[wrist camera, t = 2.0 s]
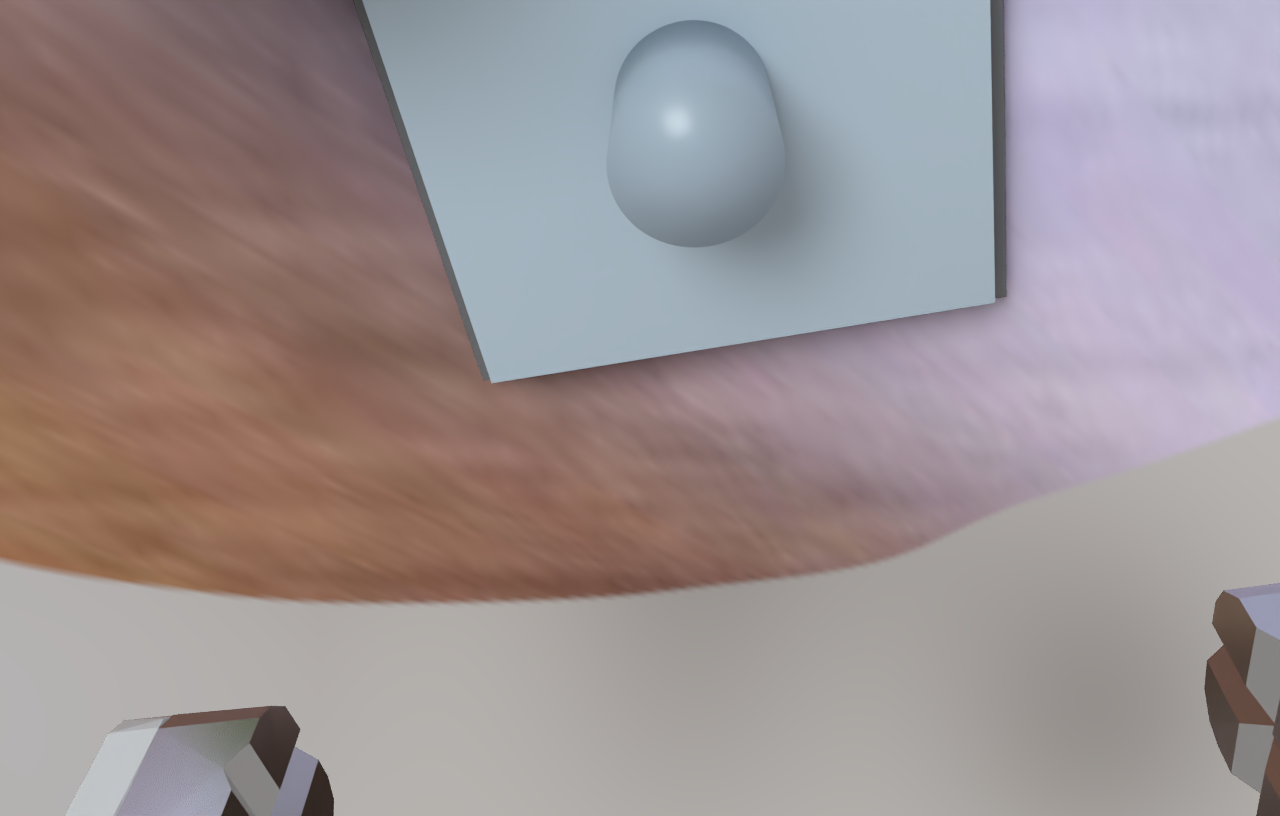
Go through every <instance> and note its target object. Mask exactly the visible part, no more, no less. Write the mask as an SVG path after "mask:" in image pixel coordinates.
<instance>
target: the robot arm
mask: <svg viewBox="0 0 1280 816" xmlns="http://www.w3.org/2000/svg"><path fill="white" fill-rule="evenodd" d="M1212 624H1213V626H1214V628H1215V629H1216V631H1217V633H1218V635H1219V637H1220V639H1221V641H1222V643H1223V644H1224V645H1223V646H1222V647H1221V648H1220V649H1219V650H1218V651H1217V652H1216V653H1215V654H1214V655H1213V656H1211V657H1210V658H1209V659H1208V660H1207V667H1206V678H1205V695H1206V701H1207V707H1208V714H1209V720H1210V723H1211V726H1212V729H1213V732H1214V735H1215V738H1216V741H1217V744H1218V747H1219V748H1220V751H1221V753H1222V755H1223V757H1224V759H1225V761H1226V763H1227V765H1228V767H1229V770H1230V771H1231V773H1232V774H1233V775H1235V776H1236V777H1238V778H1239V779H1240V780H1242V781H1243V782H1245V783H1246V784H1248V785H1249V786H1251V787H1252V788H1254V789H1255V790H1256V791H1258V792H1259V793H1261V794H1260V799H1259V805H1258V810H1257V815H1256V816H1280V583H1277V584H1269V585H1262V586H1254V587H1246V588H1239V589H1232V590H1224V591H1223V592H1222V593H1221V595H1220V596H1219V598H1218V599H1217V601H1216V603H1215V609H1214V615H1213V622H1212ZM299 732H300V728H299V726H298V725H297V723H296V722H295V720H294V719H293V717H292V716H291V714H290V713H289V711H288V710H287V708H286V707H285V706H265V707H254V708H243V709H233V710H221V711H211V712H200V713H189V714H178V715H173V716H163V717H154V718H143V719H134V720H124V721H123V722H122V723H121V724H119V725H118V726H117V727H116V728H114V729H113V730H112V731H111V732H109V733H108V735H107V736H106V738H105V740H104V742H103V744H102V746H101V748H100V750H99V752H98V753H97V755H96V757H95V759H94V761H93V763H92V765H91V767H90V769H89V771H88V772H87V774H86V776H85V778H84V780H83V782H82V784H81V786H80V788H79V790H78V791H77V793H76V795H75V797H74V799H73V801H72V803H71V805H70V807H69V808H68V810H67V812H66V814H65V816H333V814H334V798H333V794H332V790H331V786H330V782H329V779H328V776H327V774H326V772H325V771H324V769H323V767H322V765H321V763H320V762H319V760H318V759H316V758H314V757H313V756H311V755H309V754H307V753H305V752H303V751H302V750H300V749H298V748H296V747H295V744H296V741H297V738H298V735H299Z"/></svg>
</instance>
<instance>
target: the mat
mask: <svg viewBox="0 0 1280 816" xmlns="http://www.w3.org/2000/svg"><path fill="white" fill-rule="evenodd" d="M353 1H354V4H355V7H356V10H357V13H358V16H359V19H360V22H361V24H362V27H363V30H364V33H365V36H366V39H367V42H368V45H369V48H370V51H371V54H372V57H373V60H374V62H375V65H376V68H377V71H378V74H379V77H380V80H381V83H382V86H383V89H384V92H385V95H386V98H387V100H388V103H389V106H390V109H391V112H392V115H393V118H394V121H395V124H396V127H397V130H398V133H399V135H400V138H401V141H402V144H403V147H404V150H405V153H406V156H407V159H408V162H409V165H410V168H411V171H412V173H413V176H414V179H415V182H416V185H417V188H418V191H419V194H420V197H421V200H422V203H423V206H424V209H425V211H426V214H427V217H428V220H429V223H430V226H431V229H432V232H433V235H434V238H435V241H436V244H437V247H438V249H439V252H440V255H441V258H442V261H443V264H444V267H445V270H446V273H447V276H448V279H449V282H450V284H451V287H452V290H453V293H454V296H455V299H456V302H457V305H458V308H459V311H460V314H461V317H462V320H463V322H464V325H465V328H466V331H467V334H468V337H469V340H470V343H471V346H472V349H473V352H474V355H475V358H476V360H477V363H478V366H479V369H480V372H481V375H482V378H483V380H489V379H490V377H489V374H488V371H487V368H486V365H485V362H484V359H483V356H482V353H481V350H480V347H479V344H478V341H477V339H476V336H475V333H474V330H473V327H472V324H471V321H470V318H469V315H468V312H467V309H466V306H465V303H464V300H463V297H462V294H461V291H460V288H459V285H458V282H457V279H456V276H455V273H454V270H453V267H452V264H451V262H450V259H449V256H448V253H447V250H446V247H445V244H444V241H443V238H442V235H441V232H440V229H439V226H438V223H437V220H436V217H435V214H434V211H433V208H432V205H431V202H430V199H429V196H428V193H427V190H426V187H425V185H424V182H423V179H422V176H421V173H420V170H419V167H418V164H417V161H416V158H415V155H414V152H413V149H412V146H411V143H410V140H409V137H408V134H407V131H406V128H405V125H404V122H403V119H402V116H401V113H400V110H399V108H398V105H397V102H396V99H395V96H394V93H393V90H392V87H391V84H390V81H389V78H388V75H387V72H386V69H385V66H384V63H383V60H382V57H381V54H380V51H379V48H378V45H377V42H376V39H375V36H374V33H373V31H372V28H371V25H370V22H369V19H368V16H367V13H366V10H365V7H364V4H363V1H362V0H353ZM990 18H991V79H992V139H993V200H994V261H995V298H1001V297H1007V294H1006V189H1005V85H1004V0H990Z"/></svg>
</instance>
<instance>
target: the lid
mask: <svg viewBox="0 0 1280 816" xmlns="http://www.w3.org/2000/svg"><path fill="white" fill-rule="evenodd" d="M362 1H363V4H364V7H365V10H366V13H367V16H368V19H369V22H370V25H371V28H372V31H373V33H374V36H375V39H376V42H377V45H378V48H379V51H380V54H381V57H382V60H383V63H384V66H385V69H386V72H387V75H388V78H389V81H390V84H391V87H392V90H393V93H394V96H395V99H396V102H397V105H398V108H399V110H400V113H401V116H402V119H403V122H404V125H405V128H406V131H407V134H408V137H409V140H410V143H411V146H412V149H413V152H414V155H415V158H416V161H417V164H418V167H419V170H420V173H421V176H422V179H423V182H424V185H425V187H426V190H427V193H428V196H429V199H430V202H431V205H432V208H433V211H434V214H435V217H436V220H437V223H438V226H439V229H440V232H441V235H442V238H443V241H444V244H445V247H446V250H447V253H448V256H449V259H450V262H451V264H452V267H453V270H454V273H455V276H456V279H457V282H458V285H459V288H460V291H461V294H462V297H463V300H464V303H465V306H466V309H467V312H468V315H469V318H470V321H471V324H472V327H473V330H474V333H475V336H476V339H477V341H478V344H479V347H480V350H481V353H482V356H483V359H484V362H485V365H486V368H487V371H488V374H489V377H490V380H491V383H496V382H503V381H509V380H515V379H522V378H528V377H534V376H540V375H547V374H553V373H559V372H565V371H572V370H578V369H584V368H590V367H597V366H603V365H609V364H615V363H622V362H628V361H634V360H640V359H647V358H653V357H659V356H665V355H672V354H678V353H684V352H690V351H697V350H703V349H709V348H716V347H722V346H728V345H734V344H741V343H747V342H753V341H759V340H766V339H772V338H778V337H784V336H791V335H797V334H803V333H809V332H816V331H822V330H828V329H834V328H841V327H847V326H853V325H859V324H866V323H872V322H878V321H884V320H891V319H897V318H903V317H910V316H916V315H922V314H928V313H935V312H941V311H947V310H953V309H960V308H966V307H972V306H978V305H985V304H991V303H995V261H994V200H993V139H992V79H991V18H990V0H362Z"/></svg>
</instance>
